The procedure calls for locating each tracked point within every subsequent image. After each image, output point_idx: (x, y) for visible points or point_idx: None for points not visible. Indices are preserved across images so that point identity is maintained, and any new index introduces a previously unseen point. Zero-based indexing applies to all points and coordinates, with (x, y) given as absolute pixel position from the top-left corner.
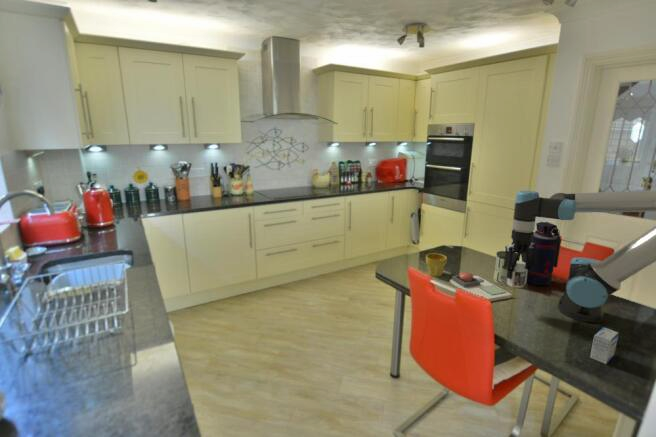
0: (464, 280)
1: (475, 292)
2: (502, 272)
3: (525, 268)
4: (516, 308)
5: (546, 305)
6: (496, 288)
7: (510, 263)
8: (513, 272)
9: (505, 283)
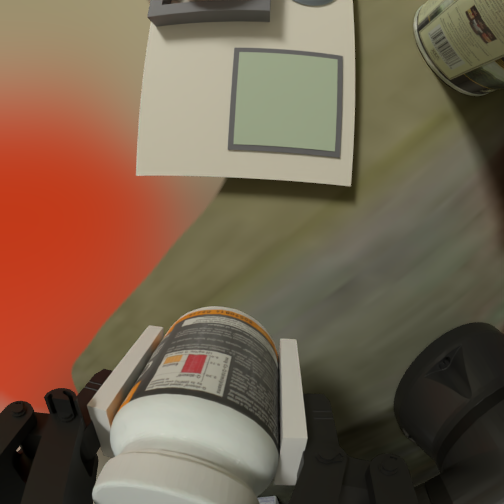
0: None
1: (165, 89)
2: (454, 28)
3: (299, 470)
4: (265, 283)
5: (420, 311)
6: (326, 93)
7: (15, 499)
8: (105, 448)
9: (437, 68)
